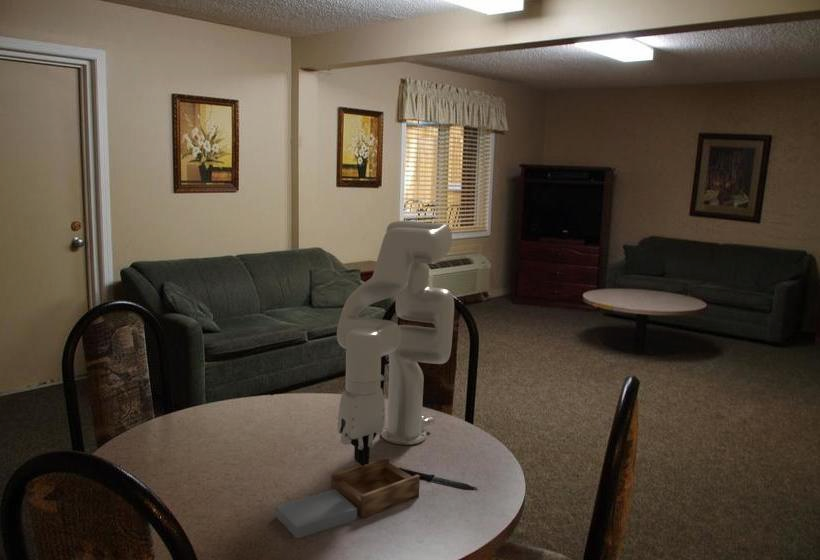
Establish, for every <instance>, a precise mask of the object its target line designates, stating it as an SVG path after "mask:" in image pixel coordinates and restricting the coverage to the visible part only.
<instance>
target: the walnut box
mask: <svg viewBox="0 0 820 560" xmlns="http://www.w3.org/2000/svg"><path fill="white" fill-rule="evenodd" d="M399 468H400V467H397V466H396V465H393V464H392V463H390V458H389V457H388V456H385V457H381V458H380V459H375V460H373V461H369V464H367V465H366V464H365V465H364V466H362V465H360V464H359V465H358V466H357V465H356V466H355V467H354V466H353V467H351V468H347V469H345V470H342V471H338V472H335V473H333V474H331V475H330V490H333V489H335V490H336V491H338V492H339V493H340V494H341V495H342V496H343V497H344V498H346V499H347V500H348V501H349V502H350V503H351V504H353V505H354V506H355V507H356V508H357V518H359V519H361V520H365V519H366V518H370V517H372V516H374V515H376V514H379V513H382V512H385V511H387V510H390V509H392V508H394V507H398V506H399V505H403V504H405V503H407V502H410V501H413V500H415V499H417V498H419V497H420V482H421V481H420V480H421V479H420V476H419V475H415V476H411V475H409V474H407V473H406V472H404V471H402V470H401V469H399Z"/></svg>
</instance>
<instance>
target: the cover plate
mask: <svg viewBox="0 0 820 560" xmlns="http://www.w3.org/2000/svg"><path fill="white" fill-rule="evenodd" d="M275 507H276V508H275V512H276V513H275V517H276V518H277V520H279V522H280V523H281V522H282V523H283V524H284V525H285V526H286V527H287V528H288V529H287V528H286V527H285V526H284V525H283V524H282V523H281V524H282V525H283V526H284V527H285V528H286V529H287V531H289V533H290V534H293V535H294V536H295V537H296V538H298V539H301V538H304V536H305V537H308V536H310V534H311V535H313V534H317V533H320V532H322V530H323V531H325V529H326V530H329V529H331V528H332V529H333V528H335V527H338V526H341V525H344V524H348V523H350V521H351V522H352V521H353V520H354V521H357V520H358V516H357V508H356V507H355V506H354V505H353V504H351V503H350V502H349V501H348V500H347V499H346V498H344V497H343V496H342V495H341V494H340V493H339V492H338V491H336V490H335V489H333V490H331V489H329V490H326V491H323V492H319V493H317V494H312V495H309V496H306V497H301V498H298V499H295V500H292V501H289V502H284V503H281V504H278V505H276V506H275ZM356 519H357V520H356ZM347 522H348V523H347ZM319 531H320V532H319ZM293 535H292V536H293ZM307 535H308V536H307ZM294 536H293V537H294ZM295 537H294V538H295ZM300 537H301V538H300ZM296 538H295V539H296Z"/></svg>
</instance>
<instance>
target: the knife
mask: <svg viewBox="0 0 820 560" xmlns="http://www.w3.org/2000/svg"><path fill="white" fill-rule="evenodd" d="M398 468H399V469H401V470H402V471H404V472H406V473H407V474H409V475H411V476H415V475H419V476H420V480H422V481H426V482H427V483H431V482H432V483H437V484H441V485H445V486H450V487H456V488H461V489H465V490H466V489H469V490H470V489H471V490H473V489H474V490H475V489H476V490H477V487H476V486H472V485H470V484H468V483H465V482H460V481H455V480H451V479H447V478H442V477H438V476H435V474H428V473H424V472H419V471H414V470H409V469H405V468H402V467H398Z"/></svg>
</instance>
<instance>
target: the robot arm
mask: <svg viewBox="0 0 820 560" xmlns="http://www.w3.org/2000/svg"><path fill="white" fill-rule="evenodd" d="M452 243H453V233H452V231H451V228H450V227H449V226H448V225H447V224H445V223H441V222H440V223H438V222H425V221H424V222H423V221H412V220H396V221H393V222H390V223H389V224H388V225H387V227H386V231H385V234H384V236H383V239H382V241H381V245H380V249H379V253H378V256H377V260H376V262H375V267H374V269H373V273H372V276H371V277H370V278H369V279H368V280H366V281H365V282H362V284H360V285H359V286H358V287H357V288H356V289H355V290H354V291H353V292H352V293H351V294H349V296H348V297H347V298H346V301H345V303H344V305H343V308H342V311H341V313H340V317H339V320H338V325H337V330H336V340H337V343H338V345H339V346H340V347H341V348H343V349H345V390H343V391H342V392H341V396H340V401H339V405H338V414H337V432H338V433H339V434H341V437H340V443H341V444H343V445H352V446H354V448H353V449H354V450H353V451H354V454H353V455H354V456H353V457H354V461H355V463H357V464H358V465H359V466H360V465H362V466H364V465H365V464H366V465H367V464H369V462H370V453H371V452H370V451H371V450H370V448H371V447H372V445H373V442H374V440H375V438H376V437H377V436H379V435H381V437H382V438H383V440H385V441H386V442H389V443H391V444H394V445H403V446H404V445H405V446H409V445H417V444H420V443H422V442H424V441H425V440H426V439H427V431H426V430H425V428H426V426H429V425H432V424H434V423H435V419H434V418H433V417H432V416H430V417H424V416H423V402H424V401H423V396H424V382H425V381H424V380H425V379H424V378H425V377H424V373H423V370H422V368H421V367H420V365H419V363H423V364H436V365H443V364H445V363H447V362H448V361H449V359H450V358H451V354H452V353H451V352H452V345H453V343H452V342H453V332H454V331H453V330H454V320H455V319H454V316H455V299H454V295H453V294H452V292H451V291H450V290H448V289H446V288H443V287H441V288H440V287H433V286H431V287H430V285H429V278H430V277H429V275H430V268H429V267H430V266H429V265H433V264H438V263H439V262H440V261H441V260H443V258H445V257H446V256H447V255H448V254H449V252H450V250H451V247H452ZM393 297H395V313H396V315H397V317H399V318H400V319H402V320H406V321H412V322H420V323H430V324H433V325H434V327H428V326H427V327H426V326H421V325H420V326H418V325H411V324H398V323H396V322H395V321H392V320H389V319H379V318H372V317H371V318H370V317H363V316H359V315H360V313H361V312H362V311H363V310H364V309H366V308H367V307H369V306H371V305H373V304H375V303H378V302H381V301H383V300H388V299H390V298H393ZM387 355H388V362H389V363H388V364H389V365H388V367H389V368H388V369H389V371H388V373H389V375H388V395H387V396H388V401H387V421H386V407H385V396H384V393H383V392H384V391H383V388H382V387H381V384H382V383H381V382H382V381H384V380H385V377H384V375H383V374H381V373H382V371H381V370H382V357H384V356H387ZM385 423H387V425H386V426H385Z"/></svg>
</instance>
